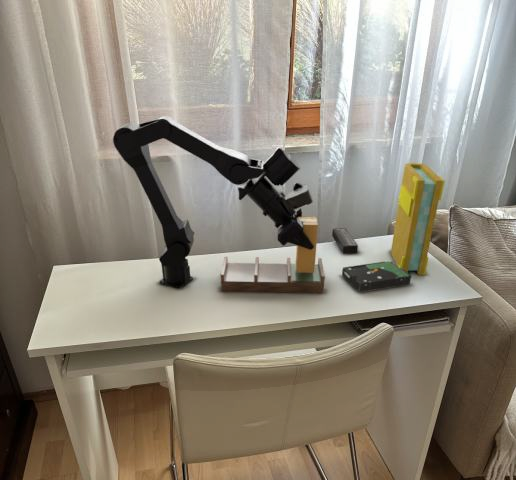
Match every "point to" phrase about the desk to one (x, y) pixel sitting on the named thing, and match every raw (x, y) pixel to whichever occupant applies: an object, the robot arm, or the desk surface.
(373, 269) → the disk drive
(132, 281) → the desk surface
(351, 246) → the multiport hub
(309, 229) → the package
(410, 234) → the book
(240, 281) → the rack
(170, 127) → the robot arm
